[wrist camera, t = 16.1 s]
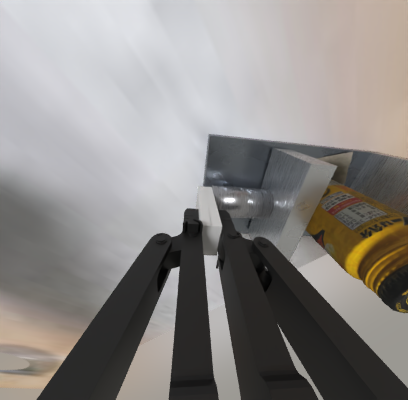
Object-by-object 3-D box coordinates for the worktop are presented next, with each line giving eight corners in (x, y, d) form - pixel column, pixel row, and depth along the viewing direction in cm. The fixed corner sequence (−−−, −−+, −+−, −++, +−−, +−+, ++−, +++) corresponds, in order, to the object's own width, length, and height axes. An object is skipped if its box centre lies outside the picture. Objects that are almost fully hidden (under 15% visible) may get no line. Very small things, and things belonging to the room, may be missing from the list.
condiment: (281, 224, 22) (364, 329, 11) (283, 164, 18) (420, 241, 7) (335, 214, 21) (473, 311, 11) (350, 150, 17) (595, 208, 7)
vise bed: (198, 225, 22) (201, 269, 16) (208, 134, 17) (218, 146, 10) (328, 231, 24) (375, 272, 18) (375, 151, 19) (468, 171, 12)
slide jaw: (203, 229, 21) (207, 269, 16) (215, 141, 16) (227, 155, 10) (262, 232, 22) (284, 270, 16) (291, 149, 17) (337, 166, 11)
